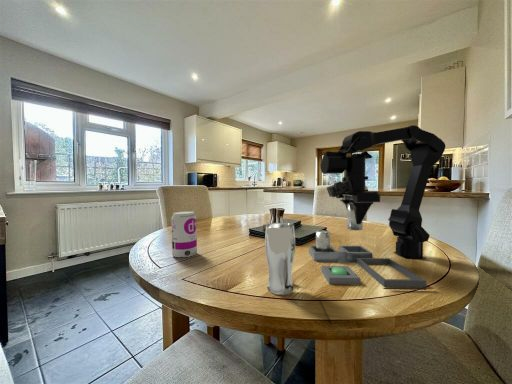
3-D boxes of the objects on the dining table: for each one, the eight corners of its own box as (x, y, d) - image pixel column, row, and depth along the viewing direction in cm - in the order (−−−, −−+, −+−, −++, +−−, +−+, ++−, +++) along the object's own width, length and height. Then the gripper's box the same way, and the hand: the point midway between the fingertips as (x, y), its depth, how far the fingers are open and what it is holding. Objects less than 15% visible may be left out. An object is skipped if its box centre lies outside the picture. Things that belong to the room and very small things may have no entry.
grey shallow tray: (359, 254, 71) (359, 244, 71) (374, 266, 61) (374, 254, 61) (308, 254, 72) (308, 244, 72) (315, 265, 62) (314, 254, 62)
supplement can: (201, 253, 75) (201, 211, 74) (182, 260, 68) (181, 214, 67) (186, 249, 79) (185, 210, 79) (167, 256, 72) (166, 213, 72)
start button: (343, 274, 54) (343, 267, 54) (349, 281, 50) (349, 273, 50) (329, 274, 54) (329, 267, 54) (334, 281, 50) (334, 273, 50)
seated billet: (327, 254, 69) (327, 230, 69) (332, 259, 65) (332, 233, 65) (314, 254, 69) (314, 230, 69) (317, 259, 65) (317, 233, 65)
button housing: (348, 275, 55) (348, 266, 55) (359, 288, 48) (359, 277, 48) (321, 275, 56) (321, 265, 56) (329, 288, 49) (329, 277, 49)
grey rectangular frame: (388, 266, 61) (389, 258, 61) (426, 291, 47) (426, 280, 47) (356, 266, 61) (356, 258, 61) (384, 291, 47) (384, 280, 47)
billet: (358, 227, 68) (358, 203, 68) (365, 230, 64) (365, 204, 64) (345, 227, 69) (345, 203, 68) (350, 230, 64) (350, 204, 64)
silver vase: (288, 299, 44) (287, 229, 44) (259, 291, 48) (259, 226, 47) (299, 286, 50) (299, 224, 49) (273, 279, 54) (273, 221, 53)
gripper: (321, 175, 75) (321, 218, 76) (339, 172, 57) (339, 229, 57) (352, 174, 75) (352, 217, 75) (381, 171, 56) (381, 228, 57)
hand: (355, 222), depth 66 cm, fingers closed on billet, 4 cm apart
